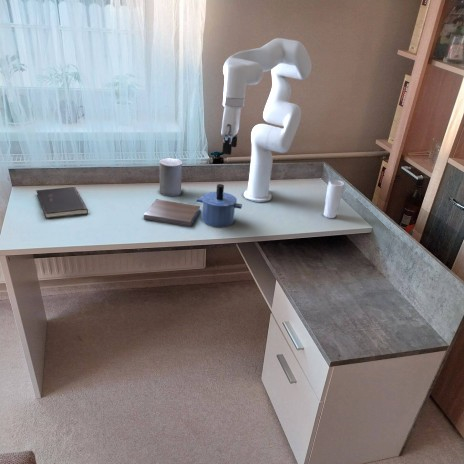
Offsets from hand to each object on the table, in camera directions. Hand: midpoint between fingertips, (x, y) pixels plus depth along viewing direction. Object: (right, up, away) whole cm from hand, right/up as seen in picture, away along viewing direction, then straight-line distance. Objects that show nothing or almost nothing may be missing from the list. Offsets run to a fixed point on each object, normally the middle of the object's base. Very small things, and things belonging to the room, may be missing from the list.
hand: (229, 150), depth 180 cm
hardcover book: (-68, -17, +15) cm, 72 cm away
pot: (-5, -23, +16) cm, 28 cm away
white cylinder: (+43, -19, +28) cm, 55 cm away
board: (-23, -21, +16) cm, 35 cm away
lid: (-4, -16, +11) cm, 20 cm away
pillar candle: (-27, -7, +35) cm, 44 cm away
